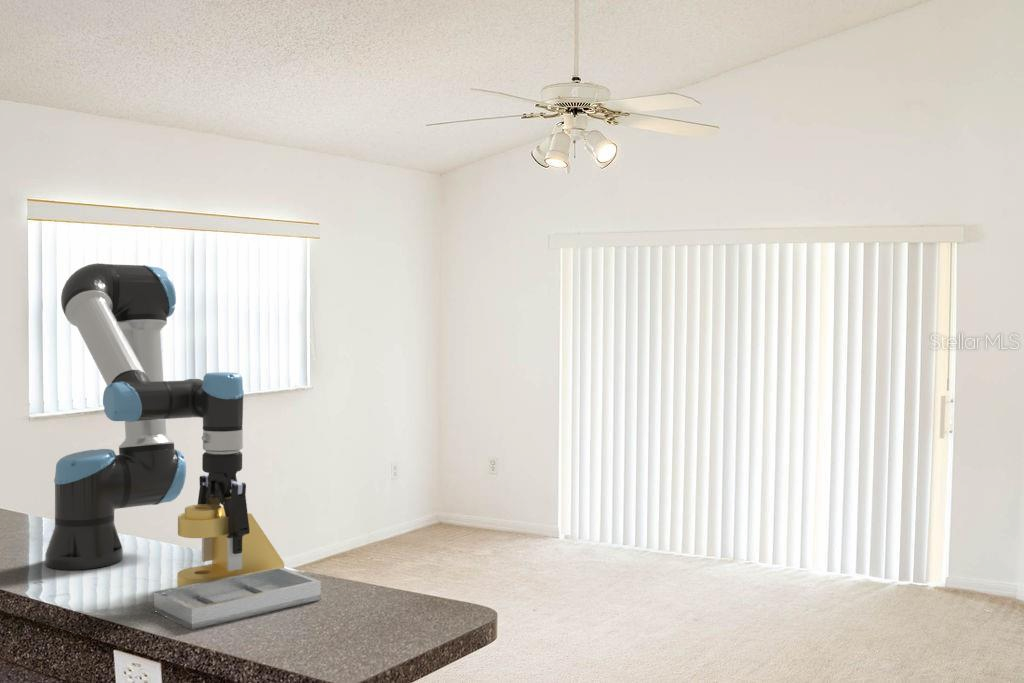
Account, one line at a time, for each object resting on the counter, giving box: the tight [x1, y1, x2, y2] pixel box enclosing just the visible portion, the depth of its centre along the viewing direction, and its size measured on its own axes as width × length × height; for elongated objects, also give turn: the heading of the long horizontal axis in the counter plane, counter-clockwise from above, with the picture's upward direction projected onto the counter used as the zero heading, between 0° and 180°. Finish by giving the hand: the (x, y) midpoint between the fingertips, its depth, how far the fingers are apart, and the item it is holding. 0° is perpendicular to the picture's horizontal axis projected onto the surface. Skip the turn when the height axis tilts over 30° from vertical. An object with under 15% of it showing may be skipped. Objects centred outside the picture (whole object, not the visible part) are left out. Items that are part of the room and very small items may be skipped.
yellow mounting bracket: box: [176, 504, 285, 587], centre depth 190 cm, size 20×9×16 cm, turn 137°
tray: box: [153, 567, 322, 631], centre depth 176 cm, size 14×26×4 cm, turn 136°
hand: (221, 564), depth 189 cm, fingers closed on yellow mounting bracket, 9 cm apart
